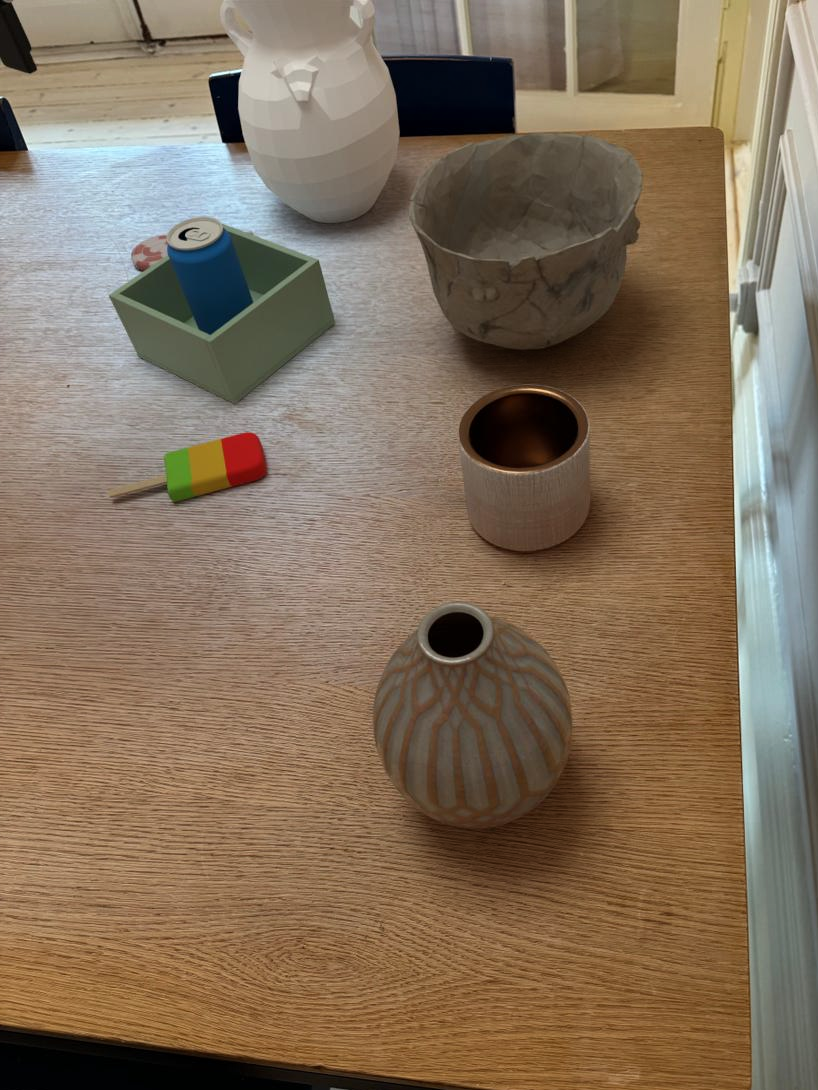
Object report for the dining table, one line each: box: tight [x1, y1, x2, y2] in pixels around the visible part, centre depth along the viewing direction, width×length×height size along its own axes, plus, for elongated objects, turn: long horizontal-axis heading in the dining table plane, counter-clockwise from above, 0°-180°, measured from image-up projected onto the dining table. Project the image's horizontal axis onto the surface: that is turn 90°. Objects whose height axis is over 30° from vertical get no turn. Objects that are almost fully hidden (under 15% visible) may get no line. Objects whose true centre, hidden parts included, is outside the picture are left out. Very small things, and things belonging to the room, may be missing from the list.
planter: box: [456, 383, 591, 552], centre depth 75 cm, size 11×11×10 cm
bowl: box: [408, 132, 644, 351], centre depth 88 cm, size 22×22×15 cm
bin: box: [108, 223, 336, 405], centre depth 94 cm, size 16×16×8 cm
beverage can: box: [166, 216, 254, 335], centre depth 92 cm, size 6×6×12 cm
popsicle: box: [107, 431, 267, 503], centre depth 84 cm, size 6×15×2 cm, turn 106°
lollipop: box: [130, 230, 254, 272], centre depth 108 cm, size 7×1×15 cm
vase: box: [372, 601, 574, 830], centre depth 57 cm, size 13×13×18 cm
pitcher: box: [219, 0, 401, 224], centre depth 102 cm, size 19×18×25 cm
